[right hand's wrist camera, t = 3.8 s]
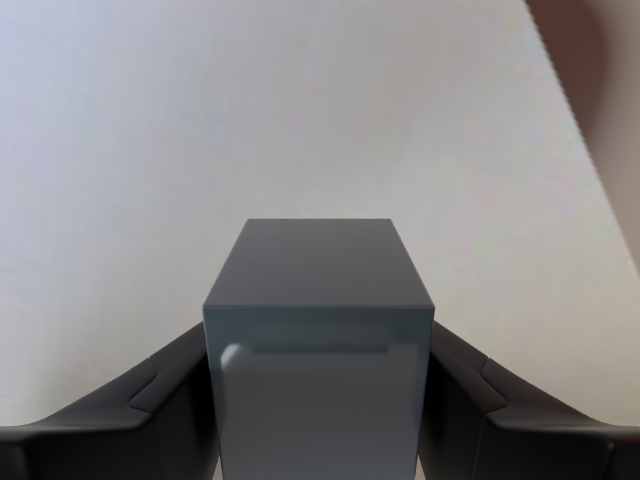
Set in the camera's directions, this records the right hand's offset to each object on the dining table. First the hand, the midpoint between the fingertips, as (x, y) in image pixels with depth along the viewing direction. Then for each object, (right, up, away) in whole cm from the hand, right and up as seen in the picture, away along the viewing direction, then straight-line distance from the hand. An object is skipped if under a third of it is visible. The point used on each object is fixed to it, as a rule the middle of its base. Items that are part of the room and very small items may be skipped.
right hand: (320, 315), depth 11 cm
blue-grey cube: (0, 0, +1) cm, 1 cm away
